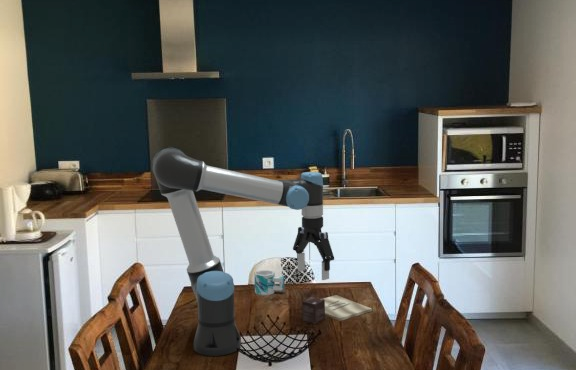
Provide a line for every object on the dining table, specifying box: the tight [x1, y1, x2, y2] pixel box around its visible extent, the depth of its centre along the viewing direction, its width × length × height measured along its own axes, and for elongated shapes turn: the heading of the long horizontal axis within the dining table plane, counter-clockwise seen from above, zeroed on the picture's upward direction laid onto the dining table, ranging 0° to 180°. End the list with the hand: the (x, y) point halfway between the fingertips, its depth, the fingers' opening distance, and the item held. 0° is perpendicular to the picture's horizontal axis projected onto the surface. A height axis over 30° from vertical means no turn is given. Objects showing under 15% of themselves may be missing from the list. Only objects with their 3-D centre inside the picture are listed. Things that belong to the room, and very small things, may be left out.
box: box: [301, 296, 326, 324], centre depth 215 cm, size 6×6×7 cm
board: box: [322, 294, 373, 322], centre depth 226 cm, size 16×20×1 cm
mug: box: [254, 269, 285, 296], centre depth 246 cm, size 8×12×8 cm
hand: (313, 274), depth 213 cm, fingers open, 13 cm apart
